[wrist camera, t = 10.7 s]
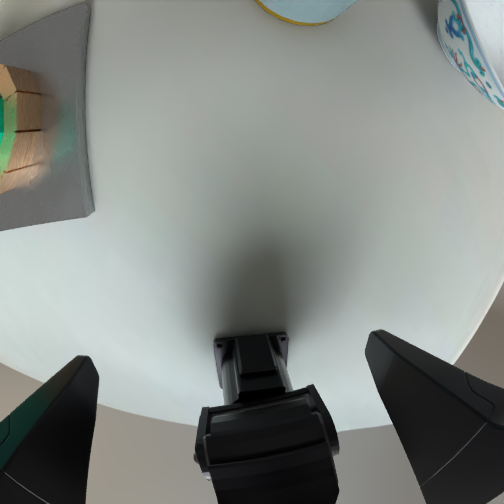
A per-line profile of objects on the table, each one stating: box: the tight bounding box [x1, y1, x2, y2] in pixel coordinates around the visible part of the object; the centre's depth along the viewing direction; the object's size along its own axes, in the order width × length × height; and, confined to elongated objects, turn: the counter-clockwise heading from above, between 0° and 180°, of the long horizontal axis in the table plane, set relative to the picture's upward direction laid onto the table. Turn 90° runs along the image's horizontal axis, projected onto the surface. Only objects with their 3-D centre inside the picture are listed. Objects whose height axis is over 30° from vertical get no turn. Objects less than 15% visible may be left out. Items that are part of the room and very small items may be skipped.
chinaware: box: [437, 0, 504, 110], centre depth 12 cm, size 15×15×8 cm
